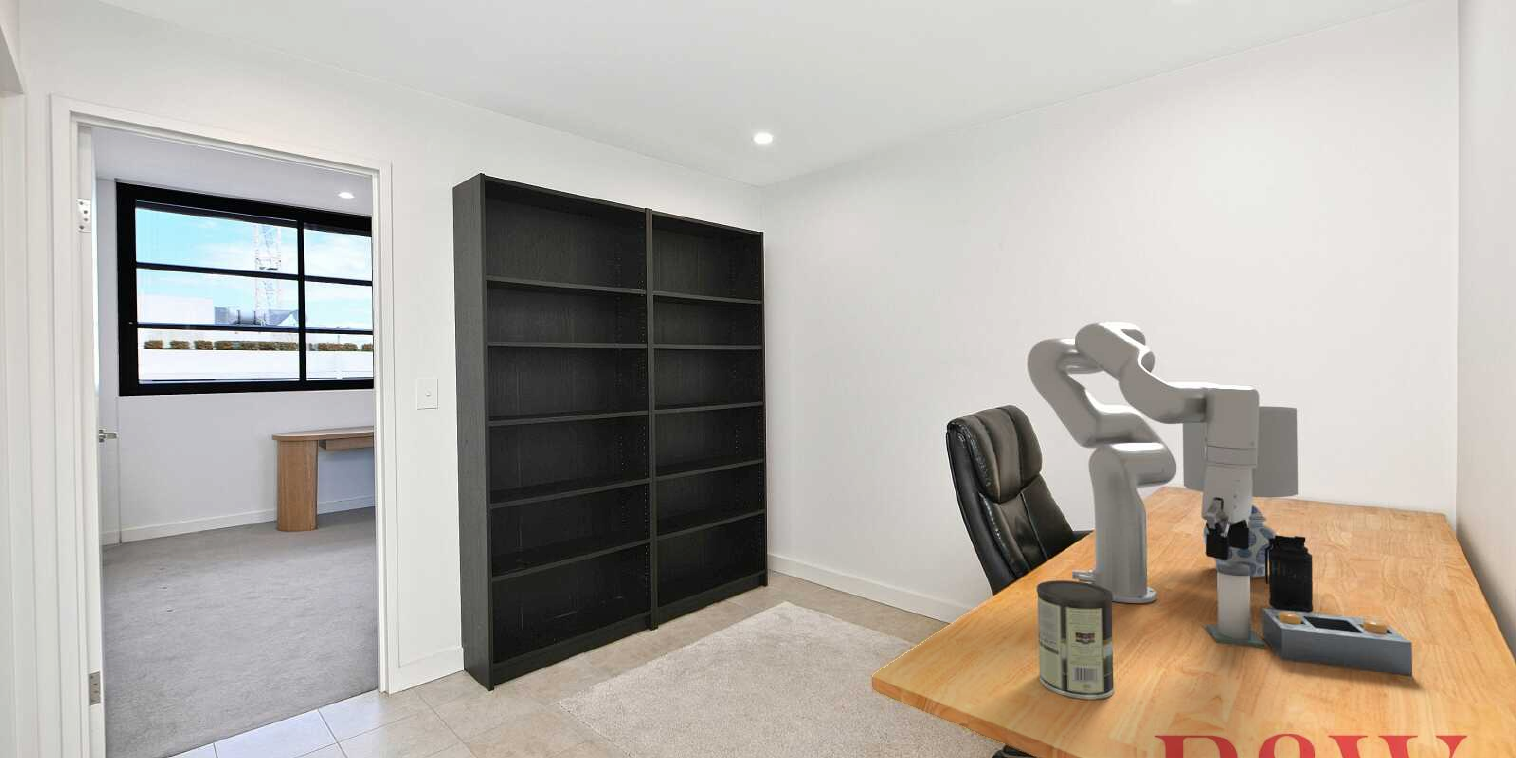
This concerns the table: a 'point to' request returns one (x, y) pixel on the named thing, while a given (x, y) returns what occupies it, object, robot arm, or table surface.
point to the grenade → (1289, 574)
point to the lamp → (1253, 475)
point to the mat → (1220, 638)
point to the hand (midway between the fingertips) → (1227, 552)
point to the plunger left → (1289, 617)
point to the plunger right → (1374, 626)
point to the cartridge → (1233, 599)
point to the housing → (1337, 642)
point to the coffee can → (1075, 639)
